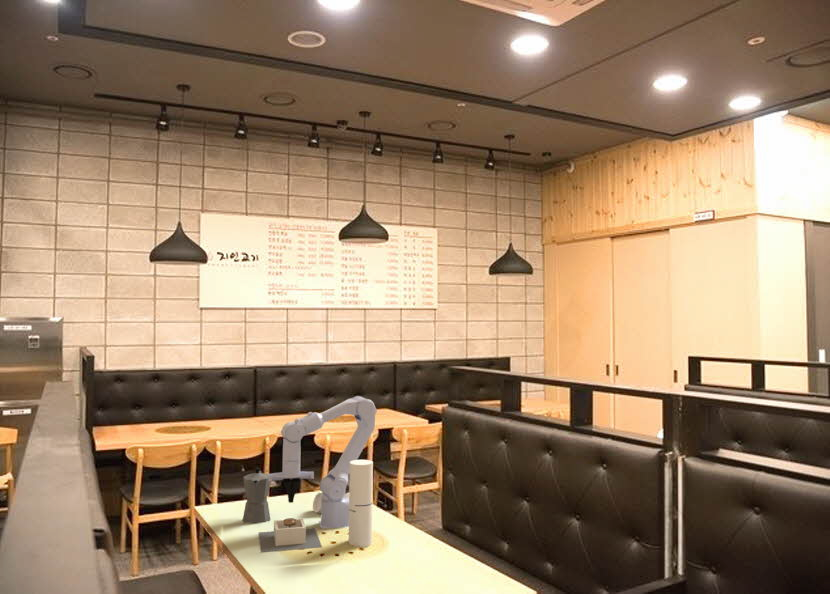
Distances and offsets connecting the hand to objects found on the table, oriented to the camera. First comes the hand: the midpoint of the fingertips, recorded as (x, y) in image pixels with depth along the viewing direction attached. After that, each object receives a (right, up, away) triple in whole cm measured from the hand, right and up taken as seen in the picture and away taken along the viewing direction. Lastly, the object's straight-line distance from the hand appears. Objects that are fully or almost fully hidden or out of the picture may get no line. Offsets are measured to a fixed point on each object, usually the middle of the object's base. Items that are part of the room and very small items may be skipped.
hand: (290, 501), depth 211 cm
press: (+1, -9, -10) cm, 13 cm away
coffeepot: (-14, -10, +11) cm, 20 cm away
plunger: (+1, -8, -10) cm, 13 cm away
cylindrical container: (+24, -10, -11) cm, 28 cm away
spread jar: (+10, -11, +22) cm, 26 cm away
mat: (+1, -9, -10) cm, 14 cm away
